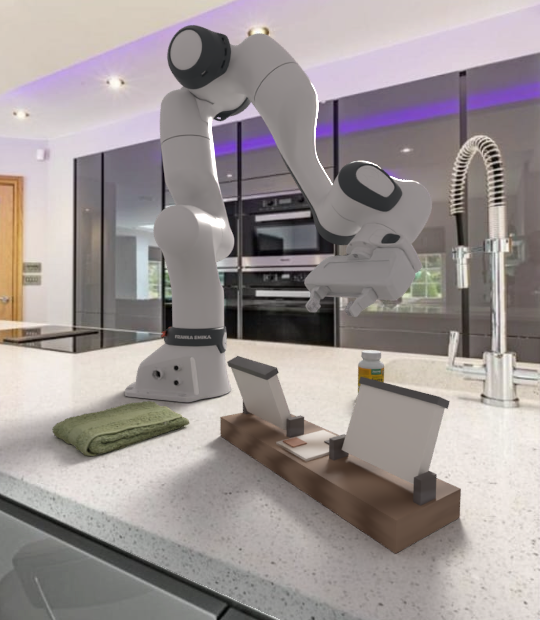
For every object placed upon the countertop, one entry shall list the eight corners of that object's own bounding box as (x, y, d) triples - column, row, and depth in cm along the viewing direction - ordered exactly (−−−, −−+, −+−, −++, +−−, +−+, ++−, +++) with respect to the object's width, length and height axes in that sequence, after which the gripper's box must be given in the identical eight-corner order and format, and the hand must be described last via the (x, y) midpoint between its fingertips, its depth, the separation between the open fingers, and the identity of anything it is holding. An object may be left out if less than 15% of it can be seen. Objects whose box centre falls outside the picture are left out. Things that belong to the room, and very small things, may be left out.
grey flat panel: (339, 448, 47) (360, 376, 49) (350, 451, 48) (370, 380, 50) (415, 485, 39) (439, 396, 40) (427, 488, 40) (449, 401, 41)
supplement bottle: (369, 392, 89) (370, 348, 89) (389, 397, 85) (390, 352, 84) (352, 395, 86) (352, 350, 86) (371, 401, 82) (372, 354, 81)
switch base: (220, 435, 63) (220, 401, 62) (273, 423, 68) (273, 392, 68) (395, 553, 35) (397, 493, 35) (459, 517, 41) (461, 465, 41)
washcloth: (193, 428, 67) (193, 409, 67) (87, 464, 54) (87, 440, 53) (149, 411, 76) (148, 394, 75) (47, 438, 62) (47, 418, 62)
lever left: (245, 411, 63) (226, 361, 61) (255, 404, 64) (237, 355, 62) (285, 431, 55) (265, 374, 52) (295, 423, 56) (276, 367, 53)
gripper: (323, 244, 77) (280, 295, 72) (415, 235, 60) (367, 300, 55) (339, 268, 80) (299, 319, 75) (431, 266, 63) (387, 331, 58)
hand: (328, 311), depth 65 cm, fingers open, 8 cm apart
